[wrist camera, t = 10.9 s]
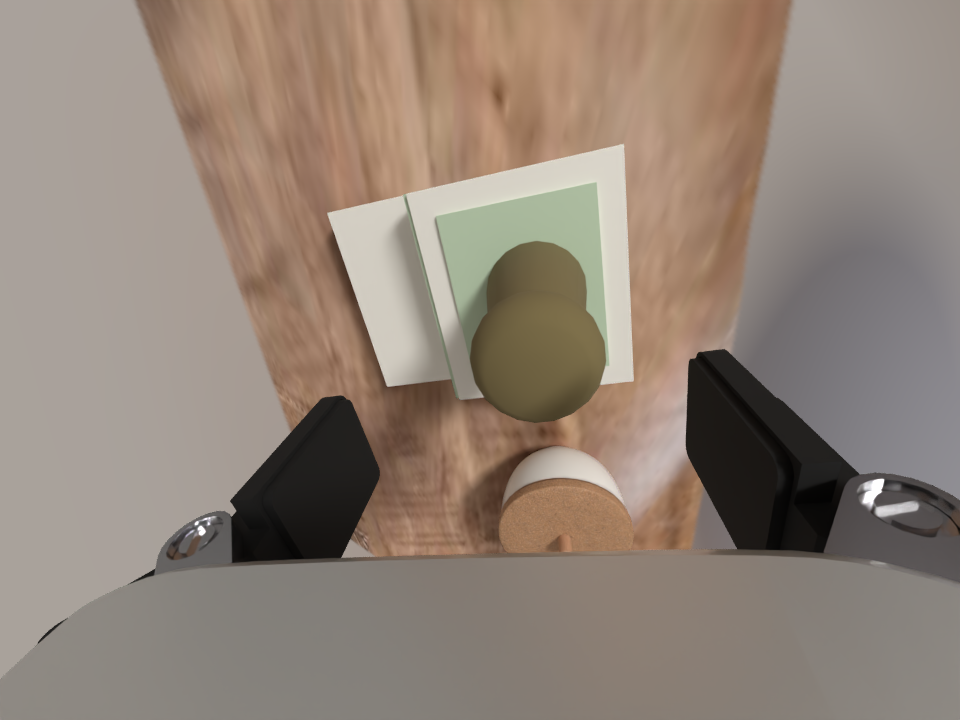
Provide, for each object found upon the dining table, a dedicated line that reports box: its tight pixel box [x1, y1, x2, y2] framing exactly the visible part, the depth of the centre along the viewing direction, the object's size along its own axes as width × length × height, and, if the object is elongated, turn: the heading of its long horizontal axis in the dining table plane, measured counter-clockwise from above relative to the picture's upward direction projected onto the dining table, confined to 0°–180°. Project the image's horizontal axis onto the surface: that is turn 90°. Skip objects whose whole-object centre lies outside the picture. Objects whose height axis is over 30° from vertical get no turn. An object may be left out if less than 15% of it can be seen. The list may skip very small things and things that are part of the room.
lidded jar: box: [498, 446, 634, 553], centre depth 33 cm, size 11×11×9 cm
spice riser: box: [327, 144, 634, 400], centre depth 27 cm, size 14×19×7 cm
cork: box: [470, 241, 606, 423], centre depth 18 cm, size 6×6×11 cm
